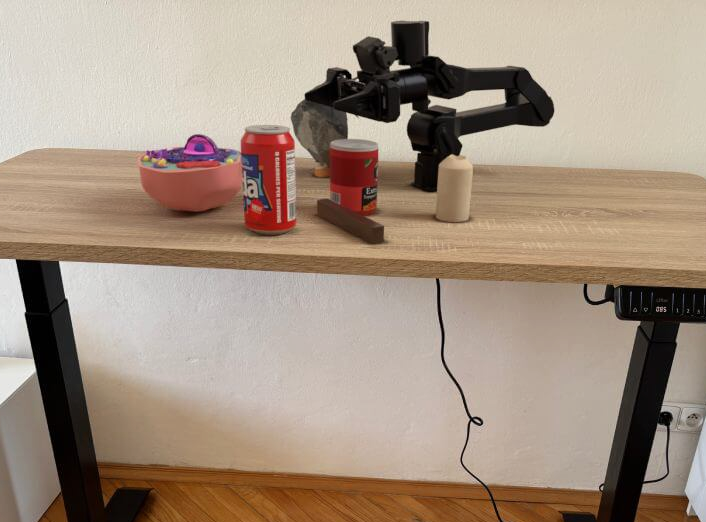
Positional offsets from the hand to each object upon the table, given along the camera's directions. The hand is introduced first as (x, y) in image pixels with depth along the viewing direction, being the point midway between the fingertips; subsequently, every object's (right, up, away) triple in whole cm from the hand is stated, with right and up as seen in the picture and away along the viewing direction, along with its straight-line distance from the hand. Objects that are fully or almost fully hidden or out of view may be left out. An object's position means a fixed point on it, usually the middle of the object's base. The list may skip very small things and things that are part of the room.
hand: (319, 101), depth 128 cm
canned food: (+6, -17, +4) cm, 18 cm away
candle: (+22, -19, +1) cm, 29 cm away
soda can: (-7, -23, -8) cm, 25 cm away
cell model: (-21, -17, +2) cm, 27 cm away
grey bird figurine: (-1, -3, +29) cm, 29 cm away
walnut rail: (+5, -22, -6) cm, 23 cm away
